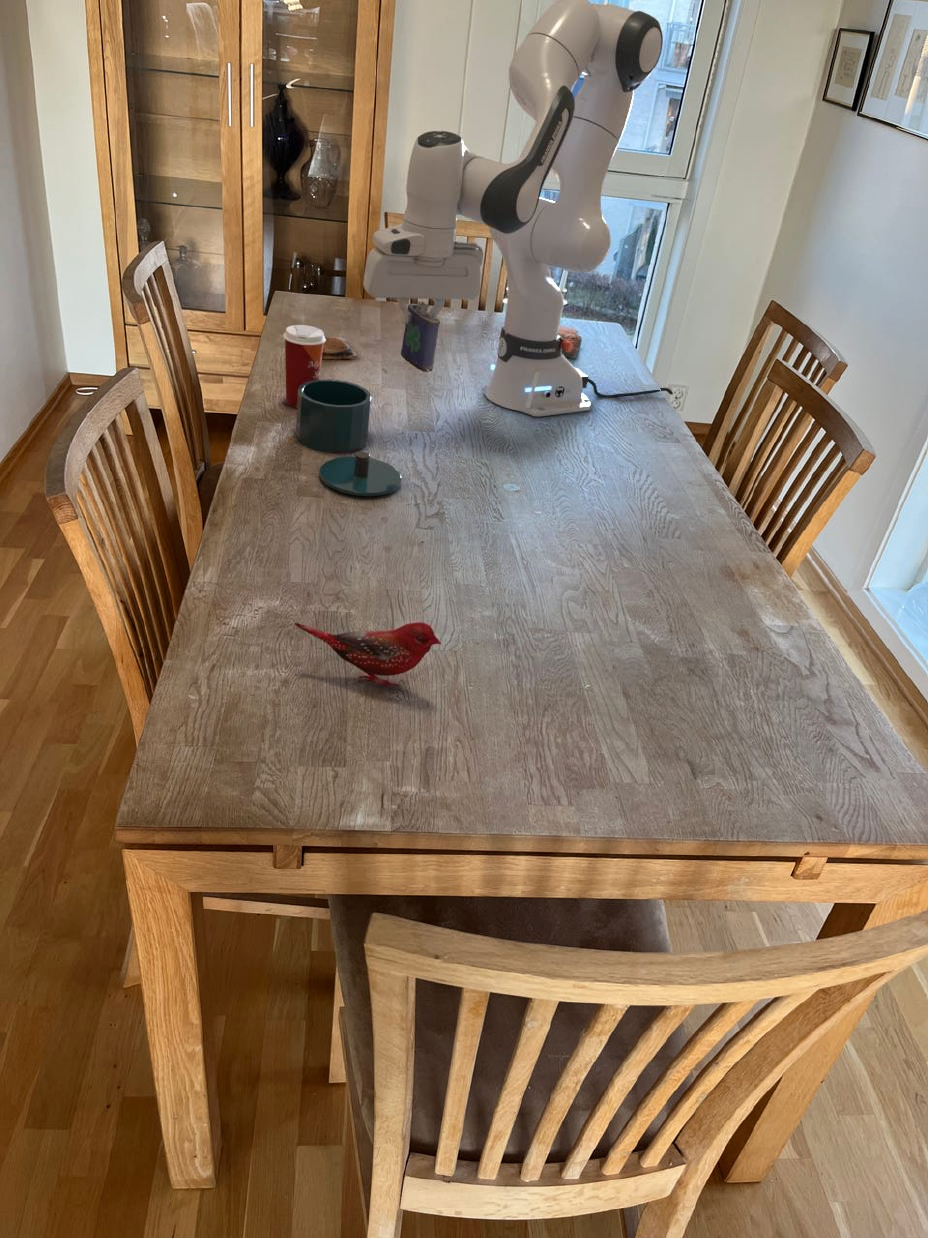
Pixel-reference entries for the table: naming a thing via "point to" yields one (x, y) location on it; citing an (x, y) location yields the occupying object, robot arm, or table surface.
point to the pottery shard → (570, 340)
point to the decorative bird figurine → (381, 648)
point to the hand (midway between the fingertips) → (418, 322)
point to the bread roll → (337, 349)
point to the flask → (420, 338)
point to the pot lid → (360, 475)
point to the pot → (333, 415)
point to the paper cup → (301, 358)
